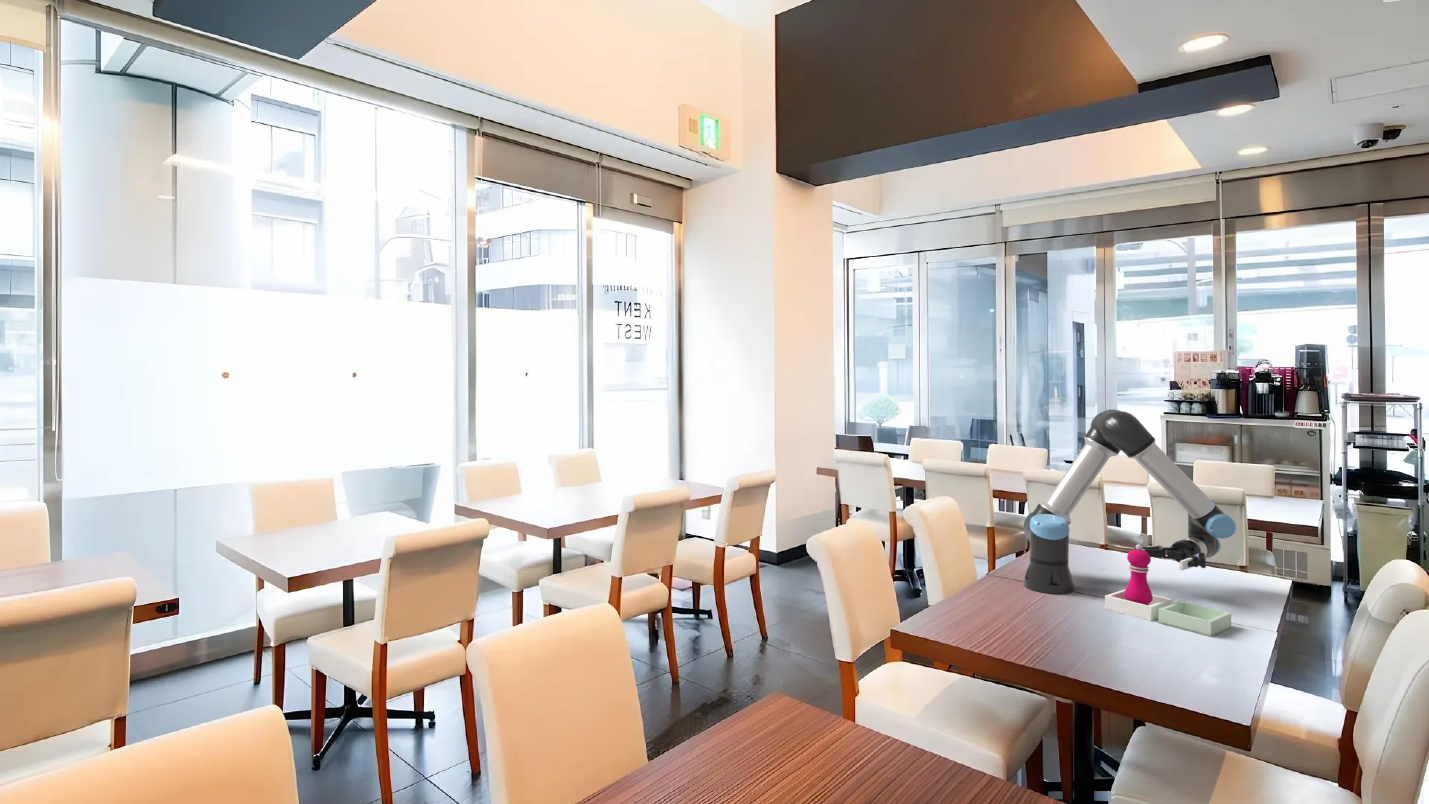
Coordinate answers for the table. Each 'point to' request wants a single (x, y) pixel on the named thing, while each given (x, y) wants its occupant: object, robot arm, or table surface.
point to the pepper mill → (1138, 577)
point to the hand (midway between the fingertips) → (1156, 561)
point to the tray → (1195, 618)
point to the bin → (1135, 605)
